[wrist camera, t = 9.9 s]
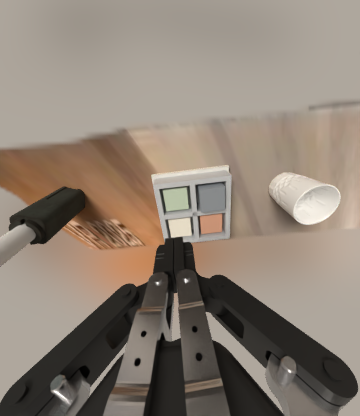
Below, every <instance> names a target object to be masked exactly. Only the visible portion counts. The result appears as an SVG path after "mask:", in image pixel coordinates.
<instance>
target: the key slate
mask: <svg viewBox="0 0 360 416" xmlns="http://www.w3.org/2000/svg"><path fill="white" fill-rule="evenodd" d="M197 189H198V203H199V208H200V212H201V213H202V212H210V211H219V210H225V186H224V185H223V184H222V182H214V183H205V184H197Z"/></svg>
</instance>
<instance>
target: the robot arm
mask: <svg viewBox="0 0 360 416" xmlns="http://www.w3.org/2000/svg"><path fill="white" fill-rule="evenodd" d="M177 292H178V303H179V307H178V311H179V323H180V335H181V338H180V339H177V340H175V341H172V336H171V335H172V321H173V309H174V293H177ZM206 312H210V313H211V314H212V315H213V317H215V319H216V320H217V321H218V322H219V323H220V324H221V325H222V326H223V327H224V328H225V329H226V330H227V331H228V332H229V333H230V334H231V335H232V336H234V337H235V339H236V340H237V341H239V343H240V344H242V345H243V346H244V347H245V348H246V349H247V350H248V351H249V352H250V353H251V354H252V355H253V356H254V357H255V358H256V359H257V360H258V361H259V362H260V363H261V364H262V365H263V366H264V367H265V368H266V372H265V375H266V380H267V384H268V386H269V388H270V390H271V391H272V393H273V394H274V395H275V397H276V398H277V399H278V401H279V403H280V405H281V407H282V410H283V413H284V414H283V413H282V412H281V411H280V410H279V408H278V407H277V406H276V405H275V404H274V403H273V401H272V400H271V399H270V398H269V397H268V396H267V394H266V393H265V392H264V391H263V390H262V389H261V387H260V386H259V385H258V384H257V383H256V382H255V381H254V379H253V378H252V377H251V376H250V375H249V374H248V373H247V371H246V370H245V369H244V368H243V367H242V366H241V364H240V363H239V362H238V361H237V360H236V359H235V358H234V356H233V355H232V354H231V353H230V352H229V351H228V350H227V349H226V348H225V347H224V346H222V345H221V344H220V343H218V342H216V341H213V340H212V337H211V333H210V329H209V325H208V320H207V316H206ZM126 343H127V346H126V349H125V353H124V354H123V355H122V356H121V357H120V358H119V359H118V360H117V361H116V363H115V364H114V365H113V366H112V368H111V369H110V370H109V372H108V373H107V374H106V376H105V377H104V378H103V380H102V381H101V382H100V384H99V385H98V386H97V387H96V389H95V390H94V391H93V393H92V394H91V395H90V397H89V393H90V387H91V385H92V384H93V383H94V382H95V381H96V380H97V378H98V377H99V376H100V375H101V373H102V372H103V371H104V370H105V369H106V367H107V366H108V365H109V364H110V362H111V361H112V360H113V359H114V358H115V356H116V355H117V354H118V353H119V352H120V350H121V349H122V348H123V347H124V345H125V344H126ZM357 392H358V384H357V381H356V378H355V376H354V374H353V373H352V371H351V370H350V368H349V367H348V366H347V365H346V364H345V363H344V362H343V361H342V360H341V359H340V358H339V357H337V356H336V355H335V354H333V353H332V352H330V351H329V350H327V349H326V348H325V347H323V346H322V345H321V344H319V343H318V342H316V341H315V340H313V339H312V338H311V337H309V336H308V335H307V334H305V333H304V332H302V331H301V330H300V329H298V328H296V327H295V326H294V325H293V324H291V323H290V322H288V321H287V320H286V319H284V318H283V317H281V316H280V315H279V314H277V313H276V312H274V311H273V310H271V309H270V308H269V307H267V306H266V305H265V304H263V303H262V302H260V301H259V300H257V299H256V298H255V297H253V296H252V295H250V294H249V293H247V292H246V291H245V290H243V289H242V288H241V287H239V286H238V285H236V284H235V283H234V282H232V281H231V280H229V279H228V278H227V277H225V276H223V275H214V276H212V277H211V278H210V279H209V278H204V277H201V276H200V275H198V273H197V272H196V269H195V261H194V254H193V247H192V244H191V243H190V242H183V236H181V237H173V238H165V245H159V247H158V248H157V251H156V257H155V264H154V270H153V275H152V276H151V277H150V278H149V280H148V282H147V283H145V284H143V285H140V286H138V287H136V286H135V285H134V284H125V285H123V286H122V287H120V288H119V289H118V290H117V291H116V292H115V293H114V294H113V295H111V296H110V298H108V299H107V300H106V301H105V302H104V303H103V304H102V305H100V306H99V307H98V308H97V309H96V310H95V311H94V312H93V313H92V314H91V315H89V316H88V317H87V318H86V319H85V320H84V321H83V322H82V323H81V324H80V325H78V326H77V327H76V328H75V329H74V330H73V331H72V332H71V333H70V334H68V335H67V336H66V337H65V338H64V339H63V340H62V341H61V342H60V343H59V344H58V345H56V346H55V347H54V348H53V349H52V350H51V351H50V352H49V353H48V354H47V355H45V356H44V357H43V358H42V359H41V360H40V361H39V362H38V363H37V364H35V365H34V366H33V367H32V368H31V369H30V370H29V371H28V372H27V373H26V374H24V375H23V376H22V377H21V378H20V379H19V380H18V381H17V382H16V383H15V384H14V385H13V386H12V387H11V388H10V389H9V390H8V392H7V393H6V394H5V396H4V397H3V399H2V401H1V403H0V416H338V412H339V411H340V410H341V409H342V408H343V407H344V406H345V405H346V404H347V403H348V402H349V401H350V400H351V399H352V398H353V397H354V396H355V395H356V394H357ZM88 397H89V398H88Z"/></svg>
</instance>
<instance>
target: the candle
mask: <svg viewBox="0 0 360 416" xmlns="http://www.w3.org/2000/svg"><path fill="white" fill-rule="evenodd" d="M84 207H85V197H84V192H83V191H82V190H80V189H78V190H76V189H71V188H67V187H62V188H60V189H58V190H56V191H55V192H53V193H51V194H49V195H48V196H46V197H44V198H42V199H40V200H39V201H37V202H35V203H33V204H32V205H30V206H28V207H26V208H25V209H23V210H21V211H19V212H18V213H16V214H14V215H12V216H11V217H10V223H11V224H10V225H9V232H8V233H6V234H5V235H3V236H2V237H0V267H1V266H2V265H3V264H4V263H6V262H7V261H8V260H9V259H10V258H11V257H13V256H14V255H15V254H17V253H18V252H19V251H20V250H21V249H23V248H24V247H25V246H26V245H27V244H29V243H30V244H31V245H32V244H37V243H39V244H44V243H46V242H47V241H48V240H50V239H51V238H52V237H53V236H54V235H55V234H56V233H57V232H58V231H60V230H61V229H62V228H63V227H64V226H65V225H66V224H67V223H68V222H69V221H70V220H71V219H72V218H74V217H75V216H76V215H77V214H78V213H79V212H80V211H81V210H82V209H83V208H84Z"/></svg>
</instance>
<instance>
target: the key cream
mask: <svg viewBox="0 0 360 416" xmlns="http://www.w3.org/2000/svg"><path fill="white" fill-rule="evenodd" d="M168 222H169V228H170V233H171V238H173V237H181V236H191V235H192V232H191V223H190V217H184V218H175V219H168Z"/></svg>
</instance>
